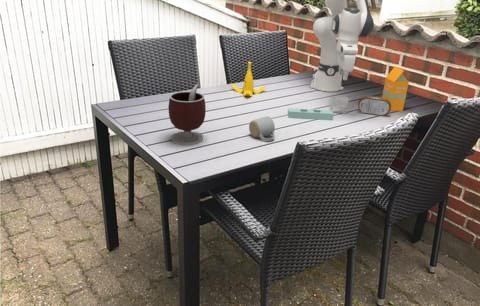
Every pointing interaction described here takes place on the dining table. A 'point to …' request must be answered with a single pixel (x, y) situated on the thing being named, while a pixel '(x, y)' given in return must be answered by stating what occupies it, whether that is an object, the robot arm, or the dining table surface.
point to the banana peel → (248, 84)
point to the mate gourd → (187, 116)
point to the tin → (374, 105)
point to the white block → (339, 103)
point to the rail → (310, 114)
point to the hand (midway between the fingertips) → (342, 77)
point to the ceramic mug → (262, 128)
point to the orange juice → (396, 89)
